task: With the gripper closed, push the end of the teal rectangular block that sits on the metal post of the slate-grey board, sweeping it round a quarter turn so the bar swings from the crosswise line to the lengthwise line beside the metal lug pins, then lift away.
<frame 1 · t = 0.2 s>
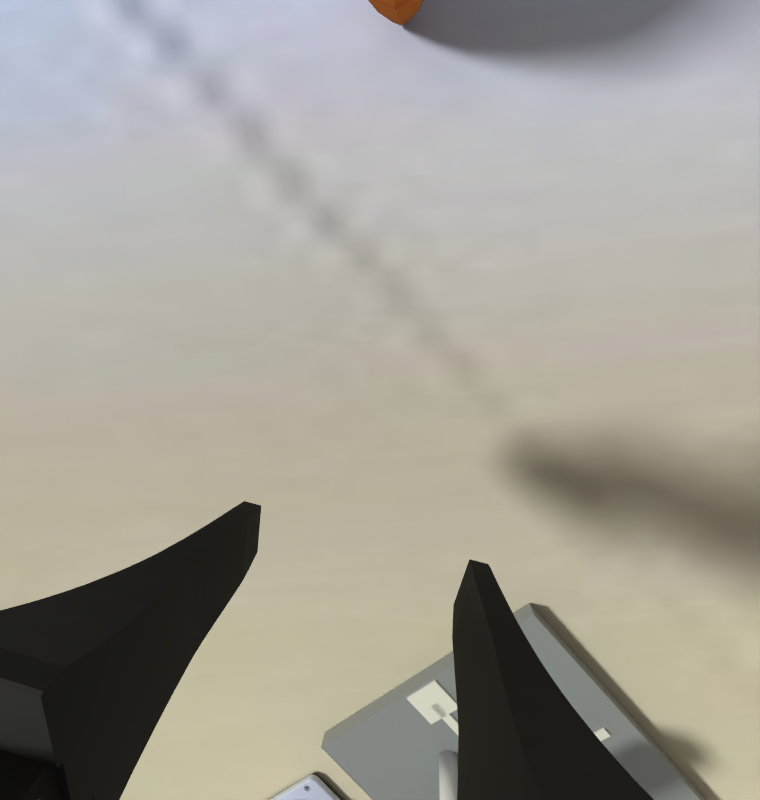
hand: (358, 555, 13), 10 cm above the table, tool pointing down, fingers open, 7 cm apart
lock board: (505, 764, 26), on the table
carrot: (402, 21, 19), on the table
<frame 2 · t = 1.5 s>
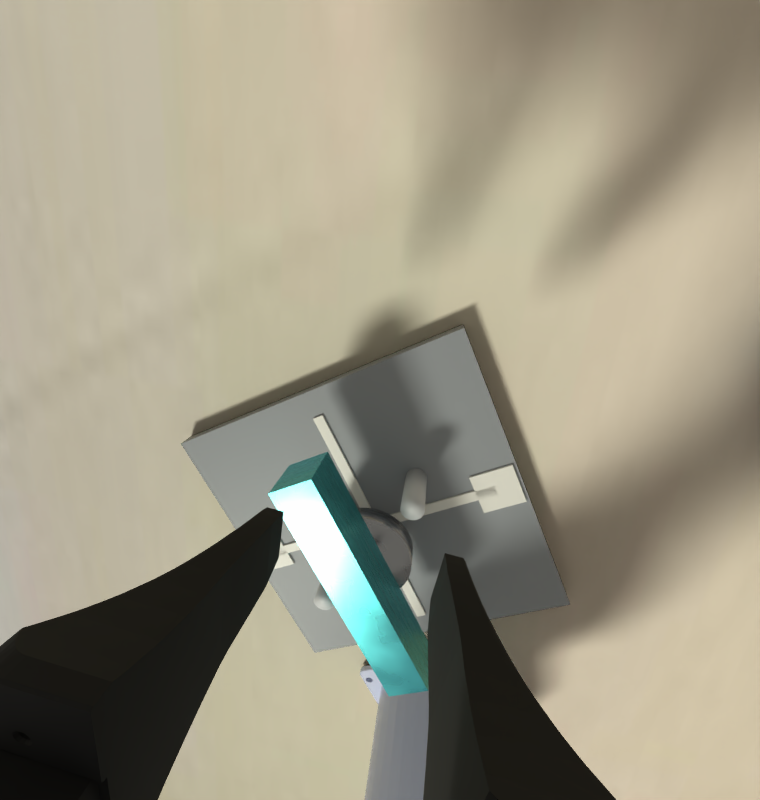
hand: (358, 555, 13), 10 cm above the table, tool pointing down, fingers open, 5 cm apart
lock board: (376, 513, 24), on the table
teal rectangular block: (361, 570, 20), point 5 cm above the table, hinge at 0.0°
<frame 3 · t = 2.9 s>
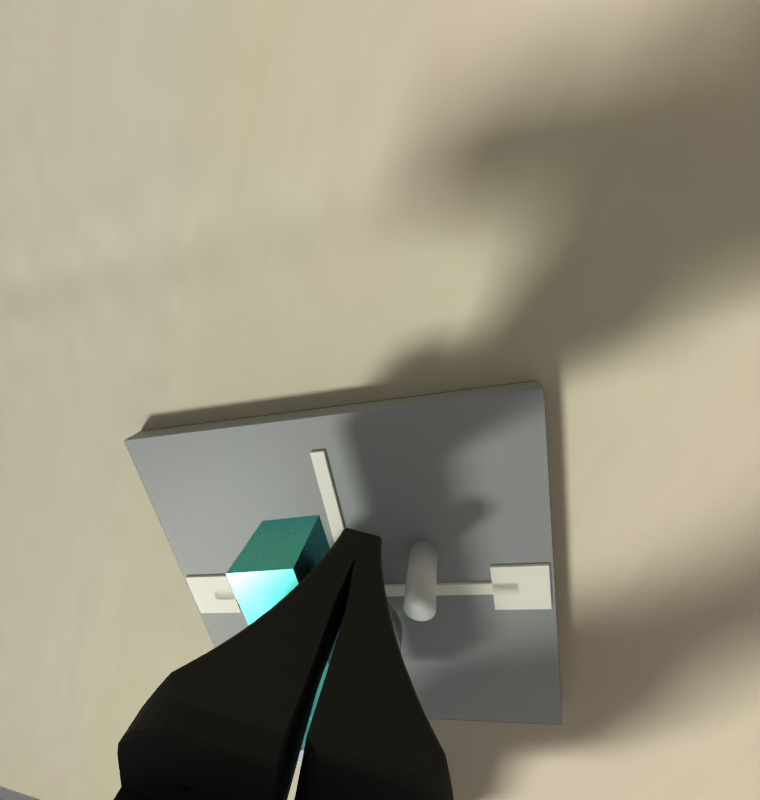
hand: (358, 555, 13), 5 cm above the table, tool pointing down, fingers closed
lock board: (358, 574, 19), on the table
teal rectangular block: (333, 667, 15), point 5 cm above the table, hinge at 2.5°, touching gripper
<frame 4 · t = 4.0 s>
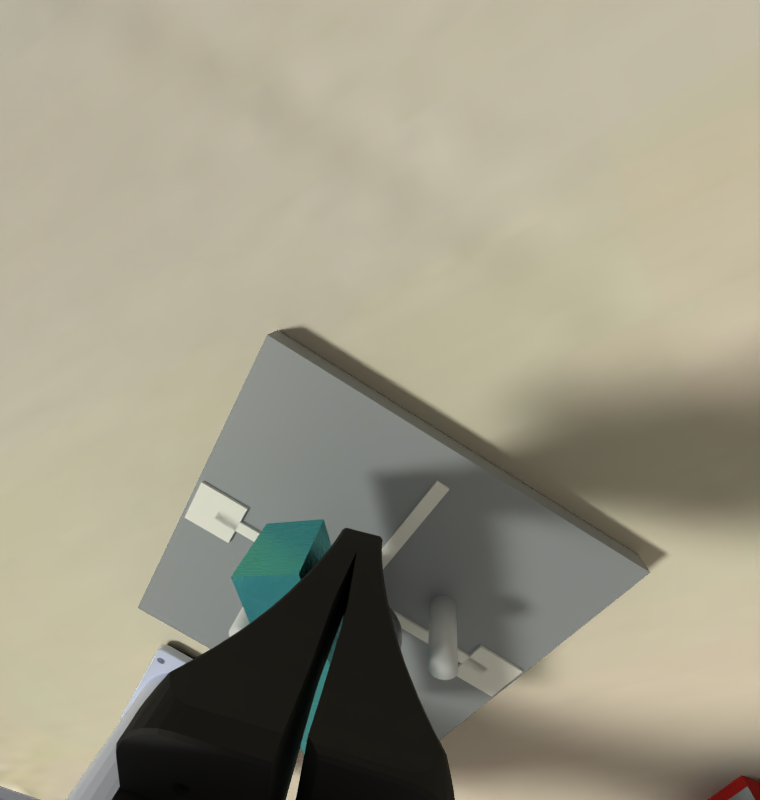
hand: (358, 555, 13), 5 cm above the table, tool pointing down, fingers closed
lock board: (358, 576, 19), on the table
teal rectangular block: (333, 670, 15), point 5 cm above the table, hinge at 42.7°, touching gripper
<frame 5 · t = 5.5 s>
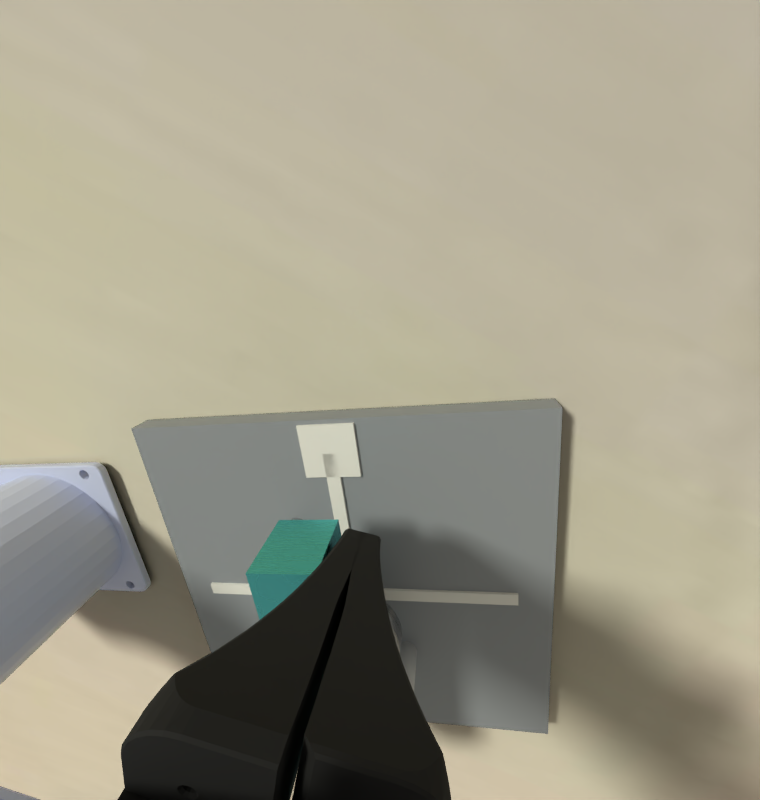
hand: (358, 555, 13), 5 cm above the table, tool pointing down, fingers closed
lock board: (358, 576, 19), on the table
teal rectangular block: (333, 669, 15), point 5 cm above the table, hinge at 90.6°, touching gripper
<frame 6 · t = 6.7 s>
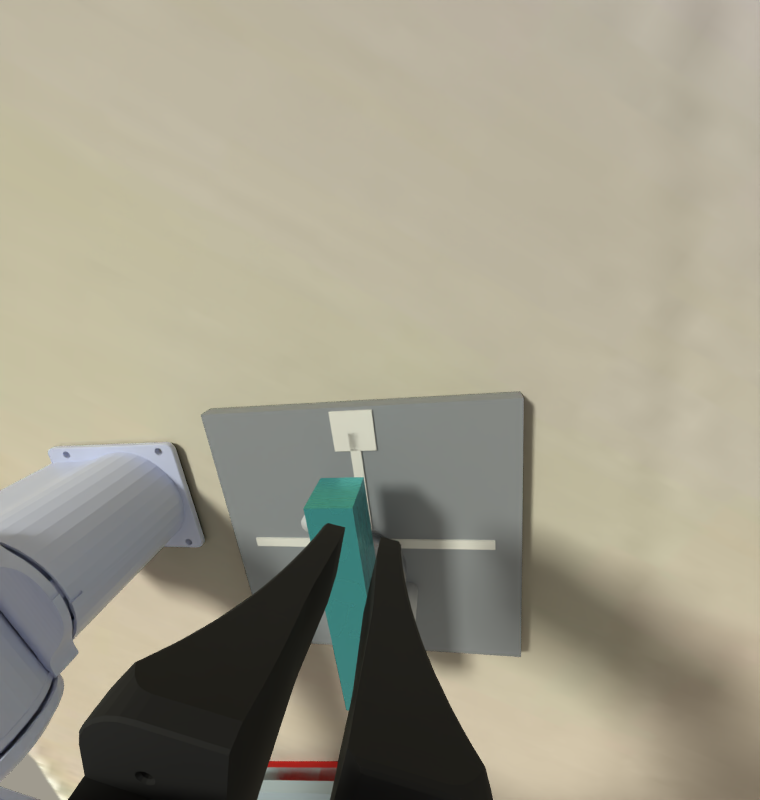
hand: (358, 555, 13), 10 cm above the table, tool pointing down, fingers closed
lock board: (372, 531, 25), on the table
teal rectangular block: (357, 591, 20), point 5 cm above the table, hinge at 90.2°
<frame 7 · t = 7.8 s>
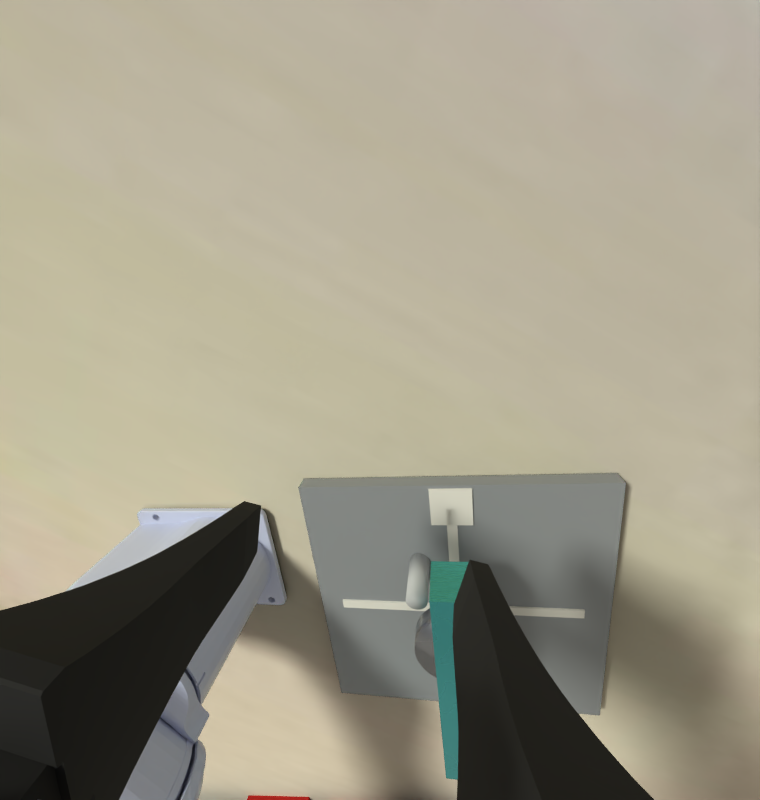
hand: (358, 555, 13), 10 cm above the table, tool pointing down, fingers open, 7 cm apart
lock board: (456, 594, 25), on the table
teal rectangular block: (459, 665, 21), point 5 cm above the table, hinge at 90.2°
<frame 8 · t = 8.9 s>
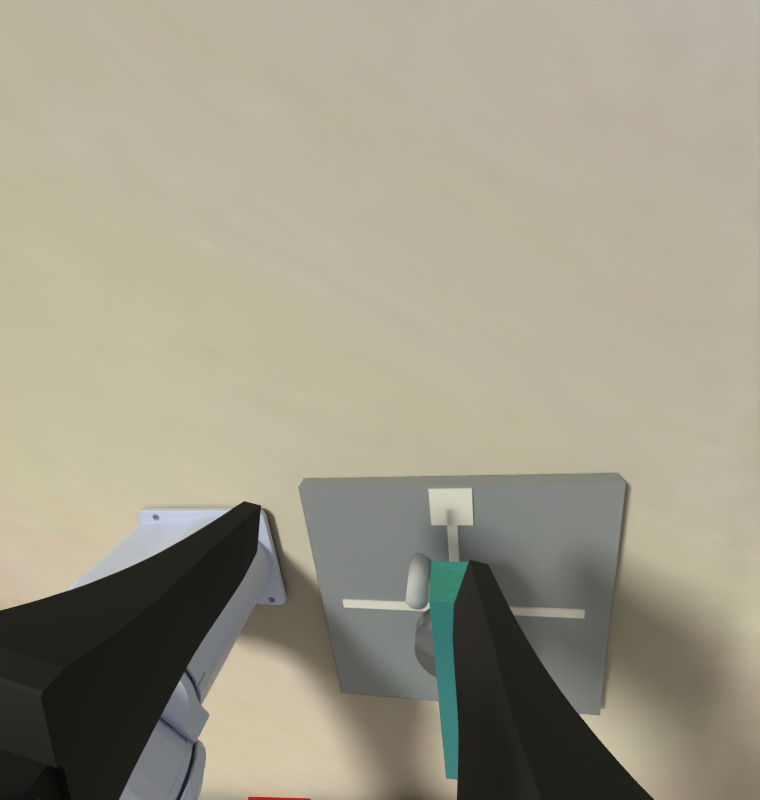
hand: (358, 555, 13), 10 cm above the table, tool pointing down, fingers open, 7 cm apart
lock board: (456, 594, 25), on the table
teal rectangular block: (459, 665, 21), point 5 cm above the table, hinge at 90.2°
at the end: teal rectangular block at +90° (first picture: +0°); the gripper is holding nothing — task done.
